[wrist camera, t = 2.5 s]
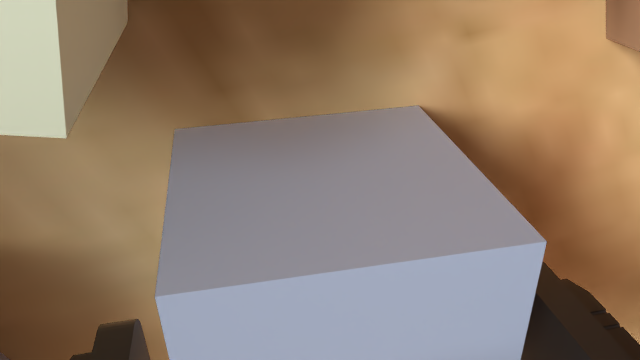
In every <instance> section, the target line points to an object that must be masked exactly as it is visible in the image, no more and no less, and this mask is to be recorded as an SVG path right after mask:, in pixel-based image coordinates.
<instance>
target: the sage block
mask: <svg viewBox="0 0 640 360" xmlns="http://www.w3.org/2000/svg"><path fill="white" fill-rule="evenodd" d="M127 23H128V2H127V0H0V135H12V136H31V137H50V138H67V136H68V134H69V133H70V131H71V129H72V127H73V125H74V123H75V121H76V119H77V117H78V116H79V114H80V112H81V110H82V108H83V106H84V104H85V102H86V100H87V98H88V97H89V95H90V93H91V91H92V89H93V87H94V85H95V83H96V81H97V80H98V78H99V76H100V74H101V72H102V70H103V68H104V66H105V64H106V63H107V61H108V59H109V57H110V55H111V53H112V51H113V49H114V47H115V46H116V44H117V42H118V40H119V38H120V36H121V34H122V32H123V30H124V29H125V27H126V25H127Z"/></svg>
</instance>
